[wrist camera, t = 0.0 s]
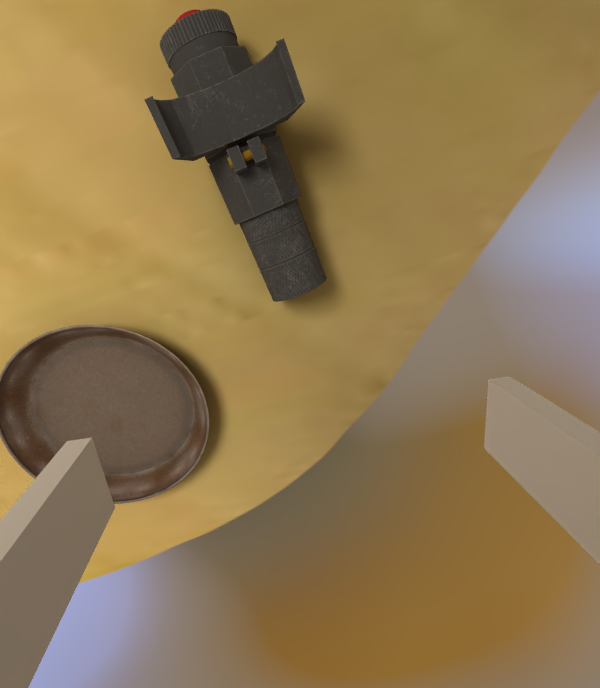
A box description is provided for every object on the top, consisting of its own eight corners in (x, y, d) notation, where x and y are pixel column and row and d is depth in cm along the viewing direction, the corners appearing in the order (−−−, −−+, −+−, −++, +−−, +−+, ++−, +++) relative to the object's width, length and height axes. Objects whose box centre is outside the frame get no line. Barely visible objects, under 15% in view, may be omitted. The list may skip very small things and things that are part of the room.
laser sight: (253, 301, 39) (252, 328, 30) (142, 61, 32) (95, -5, 23) (339, 264, 39) (366, 279, 30) (248, 14, 32) (246, -72, 22)
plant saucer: (144, 513, 46) (136, 535, 43) (-26, 424, 40) (-49, 442, 37) (249, 391, 43) (249, 405, 40) (80, 274, 37) (63, 279, 34)
